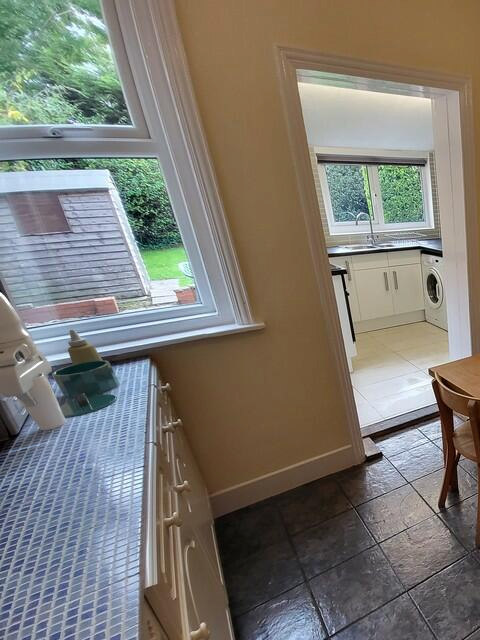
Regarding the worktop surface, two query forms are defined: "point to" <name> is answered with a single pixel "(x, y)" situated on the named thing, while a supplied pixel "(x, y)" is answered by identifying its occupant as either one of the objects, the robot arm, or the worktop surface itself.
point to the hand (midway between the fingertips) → (39, 399)
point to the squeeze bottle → (81, 349)
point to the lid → (86, 404)
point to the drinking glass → (45, 405)
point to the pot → (86, 378)
